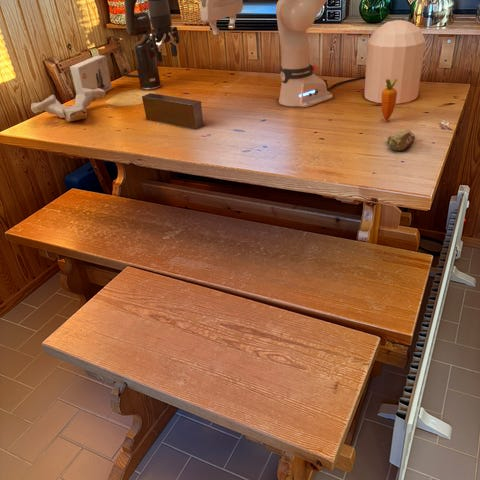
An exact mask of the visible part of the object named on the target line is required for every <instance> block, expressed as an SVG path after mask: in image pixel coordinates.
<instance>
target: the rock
mask: <svg viewBox="0 0 480 480" xmlns="http://www.w3.org/2000/svg"><path fill="white" fill-rule="evenodd" d="M415 139H416V135H415V134H414V132H412V131H411V130H408V129H407V130H404V131H398V132H396V133H394V134H393V135H392V134H391V135H389V136H388V137H387V143H388V145H387V146H388V147H389V149H391V150H392V151H395V152H404V151H406V150H407V148H409V145H410V144H411V143H412V142H413V141H414V140H415Z"/></svg>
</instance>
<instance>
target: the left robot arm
mask: <svg viewBox="0 0 480 480" xmlns="http://www.w3.org/2000/svg"><path fill="white" fill-rule="evenodd" d="M137 3H138V0H124V21H125V28H126V32H127V34H128V35H129V36H131V37H137V36H143V37H141V39H140V40H139V41H137V42H135V44H134V45H133V50H134V54H135V59H136V64H137V67H136V71H137V72H136V73H137V74H130V73H126V72H127V68H123V69H122V75H123V76H126V77H132V78H138V82H139V87H140V89H142V90H145V91H151V90H152V91H153V90H157V89H159V88H161V87H162V84H161V78H160V73H159V72H160V71H159V67H158V66H159V65H158V63H162V62H163V61H164V59H163V54H162V48H163V47H164V44H166V43H168V44H169V45H170V53H171V56H172V57H175V58H176V57H178V49H177V46H178V45H179V44H180V37H179V30H178V27H177V26H173V22H172V17H171V9H170V4H169V1H168V0H147V5H148V12H147V11H138V12H135V9H136V5H137Z"/></svg>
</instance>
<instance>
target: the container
mask: <svg viewBox="0 0 480 480" xmlns="http://www.w3.org/2000/svg"><path fill="white" fill-rule="evenodd" d="M366 44H367V45H366V58H365V78H364V91H363V95H364V98H365V99H366V100H368V101H370V102H373V103H377V104H381V98H382V91H383V90H384V89H386V88H387V87H386V85H387V83H386V79H390V82H391V84H393V82H394V80H395V79H397V81H396V83H395V84H394V86H393V88H394V89H395V90H396V91H397V95H396V102H395V105H396V104H404V103H410V102H412V101H415V100H416V99H417V98H418V96H419V90H420V84H421V83H420V82H421V76H422V68H423V62H424V55H425V54H424V53H425V46H426V38H425V36H424V34H423V32H422V30H421V28H420V27H419V26H417V25H416V24H414V23H413V22H411V21H408V20H404V19H403V20H402V19H395V20H390V21H386V22H385V23H383V24H382V25H381V26H379V27H377V28H376V29H374V31H373V32H372V34H371V35H370V37H369V38H368V40H367V43H366ZM389 86H390V85H389ZM391 86H392V85H391Z"/></svg>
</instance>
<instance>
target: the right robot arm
mask: <svg viewBox="0 0 480 480" xmlns="http://www.w3.org/2000/svg"><path fill="white" fill-rule="evenodd" d="M327 1H328V0H278V1H277V3H276V5H275V14H276V22H277V30H278V37H279V44H280V67H279V68H280V71H279V72H280V73H279V74H280V75H279V76H280V93H279V98H278V100H277V101H278V103H279V104H280V105H282V106H286V107H302V108H308V107H311V106H314V105H317V104H320V103H323V102H325V101H328V100H331V99H333V97H334V96H333V94H332V93H331V92H330V90H332V89H333V88H334V87H336V86H338V85H341V84H344V83H349V82H352V81H353V82H354V81H358V80H362V79H363V80H364V79H365V76H360V77H356V78H351V79H347V80H342V81H339V82H336V83H334V84H332V85H331V86H330V87H329V84H328V80H327V79H323V78H320V77H319V76H318V75H317V74H315V73H314V72H318V70H319V66H317V65H315V64H311V63H310V42H309V37H308V33H307V30H309V29H310V28H311V27H312V26H313V24H314V23H315V20H316V17H317V16H318V15H319V13H320V11H322V9H323V7H324V5H325V4H326V3H327ZM199 3H200V4H199V5H200V6H199V7H200V9H199V11H200V20H201V22H202V23H207V24H209V27H210V29H211V30H212V35H214V36H216V35H219V34H220V28H218V27H217V21H218V20H223V19H225V18H228V17H229V23H227V24H228V29H229V30H234V29H235V28H236V24H235V23H236V21H237V15H238V14H241V13H242V12H243V9H244V5H243V4H244V3H243V0H200V2H199Z"/></svg>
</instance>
